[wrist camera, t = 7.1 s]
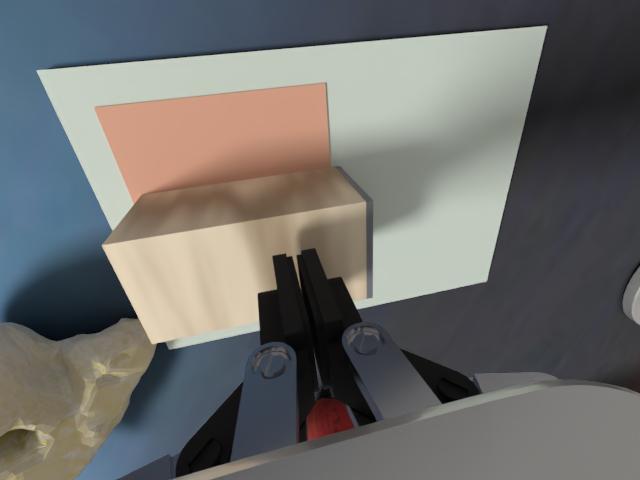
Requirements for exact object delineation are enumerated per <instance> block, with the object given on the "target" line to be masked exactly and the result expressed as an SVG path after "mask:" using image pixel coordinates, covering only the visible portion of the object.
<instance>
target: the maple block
mask: <svg viewBox="0 0 640 480" xmlns="http://www.w3.org/2000/svg"><path fill="white" fill-rule="evenodd" d="M102 247H103V249H104V251H105V253H106V255H107V257H108V259H109V261H110V263H111V265H112V267H113V269H114V271H115V273H116V275H117V277H118V279H119V280H120V282H121V284H122V286H123V288H124V290H125V292H126V294H127V296H128V298H129V300H130V302H131V304H132V306H133V308H134V310H135V312H136V314H137V316H138V318H139V320H140V322H141V324H142V326H143V328H144V330H145V332H146V334H147V335H148V337H149V339H150V341H151V343H152V344H156V343H161V342H165V341H170V340H175V339H180V338H184V337H189V336H194V335H199V334H203V333H208V332H213V331H217V330H222V329H227V328H232V327H236V326H241V325H246V324H250V323H255V322H259V310H258V293H260V292H265V291H270V290H275V289H277V285H276V278H275V272H274V265H273V259H272V256H274V255H279V254H285V253H286V255H287V257H289V256H292V257H293V261H294V265H295V269H296V273H297V277H298V280H299V284H300V278H299V271H298V264H297V257H296V255H300V254H301V250H306V249H312V248H315V249H316V252H317V254H318V257H319V259H320V262H321V264H322V267H323V269H324V272H325V274H326V277H327V279H331V278H336V277H342V279H343V281H344V283H345V285H346V287H347V289H348V291H349V294H350V296H351V298H352V300H353V302H354V301H359V300H364V299H369V298H373V200H372V199H371V198H370V197H369V196H368V195H367V194H366V192H365V191H364V190H363V189H362V188H361V187H360V186H359V185H358V184H357V183H356V182H355V181H354V180H353V179H352V178H351V177H350V176H349V175H348V174H347V173H346V172H345V171H344V170H343V169H342V168H341V167H340V166H335V167H329V168H322V169H315V170H308V171H301V172H294V173H287V174H281V175H274V176H267V177H260V178H253V179H246V180H239V181H233V182H226V183H219V184H212V185H205V186H198V187H191V188H185V189H178V190H171V191H164V192H157V193H150V194H143V195H141V196H140V197H139V199H138V200H137V201H136V202H135V204H134V205H133V206H132V207H131V209H130V210H129V211H128V213H127V214H126V215H125V216H124V218H123V219H122V220H121V221H120V223H119V224H118V225H117V226H116V228H115V229H114V230H113V232H112V233H111V234H110V235H109V237H108V238H107V239H106V240H105V242H104V243H103V244H102ZM300 288H301V285H300Z"/></svg>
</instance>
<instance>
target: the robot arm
mask: <svg viewBox="0 0 640 480" xmlns="http://www.w3.org/2000/svg"><path fill="white" fill-rule="evenodd" d="M296 257H297V264H298V271H299V278H300V284H299V280H298V277H297V273H296V269H295V265H294V261H293V257H292V256H289V257H287V255H286V253H285V254H279V255H274V256H272V259H273V265H274V272H275V278H276V285H277V289H275V290H270V291H265V292H260V293H258V310H259V326H260V342H261V346H260V347H258V348H257V349H256V350H255V351H253V352H252V354H251V355H250V357H249V358H248V361H247V364H246V370H245V376H244V381H243V382H242V383H241V384H240V386H239V387H238V388H237V389H236V390H235V391H234V392H233V393H232V394H231V395H230V397H229V398H228V399H227V400H226V401H225V402H224V403H223V404H222V405H221V406H220V407H219V409H218V410H217V411H216V412H215V413H214V414H213V415H212V416H211V417H210V418H209V420H208V421H207V422H206V423H205V424H204V425H203V426H202V427H201V428H200V429H199V431H198V432H197V433H196V434H195V435H194V436H193V437H192V438H191V439H190V440H189V441H188V443H187V444H186V445H185V447H184V448H183V450H182V451H181V453H179V454H177V455H175V456H173V457H170V455H169V454H168V455H166V456H164V457H162V458H160V459H158V460H156V461H154V462H152V463H150V464H148V465H146V466H144V467H142V468H139V469H137V470H135V471H133V472H131V473H129V474H127V475H125V476H123V477H121V478H119V479H117V480H640V393H637V392H635V391H632V390H630V389H627V388H623V387H619V386H616V385H611V384H606V383H601V382H593V381H584V380H559V379H557V378H556V377H553V376H551V375H548V374H545V373H537V372H534V373H494V374H474V377H473V378H468V377H466V376H465V375H463V374H461V373H459V372H457V371H454V370H452V369H449V368H447V367H444V366H442V365H440V364H437V363H435V362H432V361H430V360H427V359H425V358H422V357H420V356H417V355H415V354H412V353H410V352H407V351H405V350H402V349H400V348H399V347H398V346H397V345H396V343H395V342H394V341H393V340H392V338H391V337H390V336H389V334H388V333H387V332H386V331H385V330H384V329H383V328H382V327H380V326H378V325H376V324H373V323H369V322H363V321H362V319H361V317H360V315H359V313H358V311H357V309H356V306H355V304H354V302H353V300H352V298H351V296H350V294H349V291H348V289H347V287H346V285H345V283H344V281H343V279H342V277H336V278H331V279H327V277H326V274H325V272H324V269H323V267H322V264H321V262H320V259H319V257H318V254H317V252H316V249H315V248H312V249H306V250H301V254H300V255H296ZM300 285H301V288H300ZM622 303H623V311H624V312H625V314H626V316H627V317H629V318H630V319H632V320H633V321H635V322H636V323H638V324H639V325H640V266H639V267H638V268H637V270H636V271H635V273H634V274H633V276H632V278H631V279H630V281H629V283H628V285H627V287H626V290H625V292H624V296H623V302H622ZM313 349H314V350H313ZM314 353H315V357H316V361H317V365H318V369H319V373H320V377H321V381H322V385H323V389H328V388H330V392H331V396H332V398H335V399H337V400H338V401H340V402H342V403H344V404H346V408H347V411H348V414H349V416H350V418H351V420H352V422H353V424H354V426H355V428H353V429H349V430H345V431H342V432H338V433H334V434H331V435H327V436H323V437H320V438H316V439H312V440H309V441H308V421H307V416H308V415H309V413H310V412H311V410H312V409H313V407H314V405H315V404H316V403H315V396H314V392H316V391H319V387H318V380H317V372H316V365H315V357H314Z"/></svg>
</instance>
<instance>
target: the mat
mask: <svg viewBox="0 0 640 480" xmlns="http://www.w3.org/2000/svg"><path fill="white" fill-rule="evenodd" d="M546 30H547V26H538V27H526V28H515V29H504V30H492V31H481V32H469V33H458V34H447V35H435V36H424V37H412V38H401V39H390V40H378V41H367V42H355V43H344V44H333V45H321V46H310V47H299V48H287V49H276V50H264V51H253V52H242V53H230V54H219V55H207V56H196V57H185V58H173V59H162V60H150V61H139V62H128V63H116V64H105V65H93V66H82V67H71V68H59V69H48V70H36V71H37V73H38V75H39V77H40V79H41V81H42V83H43V85H44V88H45V90H46V92H47V94H48V96H49V98H50V100H51V102H52V104H53V106H54V109H55V111H56V113H57V115H58V117H59V119H60V121H61V123H62V125H63V128H64V130H65V132H66V134H67V136H68V138H69V140H70V142H71V144H72V146H73V149H74V151H75V153H76V155H77V157H78V159H79V161H80V163H81V165H82V168H83V170H84V172H85V174H86V176H87V178H88V180H89V182H90V184H91V186H92V189H93V191H94V193H95V195H96V197H97V199H98V201H99V203H100V205H101V207H102V210H103V212H104V214H105V216H106V218H107V220H108V222H109V224H110V226H111V229H112V231H113V230H114V229H115V228H116V226H117V225H118V224H119V223H120V221H121V220H122V219H123V218H124V216H125V215H126V214H127V213H128V211H129V210H130V209H131V207H132V206H133V205H134V204H135V202H136V201H137V200H138V199H139V197H140V196H141V195H143V194H150V193H157V192H164V191H171V190H178V189H185V188H191V187H198V186H205V185H212V184H219V183H226V182H233V181H239V180H246V179H253V178H260V177H267V176H274V175H281V174H287V173H294V172H301V171H308V170H315V169H322V168H329V167H335V166H340V167H341V168H342V169H343V170H344V171H345V172H346V173H347V174H348V175H349V176H350V177H351V178H352V179H353V180H354V181H355V182H356V183H357V184H358V185H359V186H360V187H361V188H362V189H363V190H364V191H365V192H366V194H367V195H368V196H369V197H370V198H371V199H372V200H373V298H369V299H364V300H359V301H354V304H355V306H356V309H361V308H365V307H370V306H375V305H379V304H384V303H388V302H393V301H398V300H402V299H407V298H412V297H416V296H421V295H426V294H430V293H435V292H439V291H444V290H449V289H453V288H458V287H463V286H467V285H472V284H477V283H481V282H486V281H487V278H488V274H489V270H490V265H491V261H492V257H493V253H494V249H495V244H496V240H497V236H498V232H499V228H500V223H501V219H502V215H503V211H504V207H505V202H506V198H507V194H508V190H509V185H510V181H511V177H512V173H513V169H514V164H515V160H516V156H517V152H518V148H519V143H520V139H521V135H522V131H523V127H524V122H525V118H526V114H527V110H528V105H529V101H530V97H531V93H532V89H533V84H534V80H535V76H536V72H537V68H538V63H539V59H540V55H541V51H542V47H543V42H544V38H545V34H546ZM259 330H260V326H259V322H255V323H250V324H246V325H241V326H236V327H232V328H227V329H222V330H217V331H213V332H208V333H203V334H199V335H194V336H189V337H184V338H180V339H175V340H170V341H165V342H166V344H167V346H168V348H169V350H171V349H175V348H180V347H185V346H189V345H194V344H198V343H203V342H208V341H212V340H217V339H222V338H226V337H231V336H236V335H240V334H245V333H249V332H254V331H259Z"/></svg>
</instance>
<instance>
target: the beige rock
mask: <svg viewBox="0 0 640 480" xmlns="http://www.w3.org/2000/svg"><path fill="white" fill-rule="evenodd" d="M155 349H156V344H152V343H151V341H150V339H149V337H148V335H147V334H146V332H145V330H144V328H143V326H142V324H141V322H140V320H139V319H130V318H121V319H120V321H119V322H118V323H117V324H115V325H113V326H111V327H109V328H106V329H105V330H103V331H101V332H99V333H93V334H78V335H76V336H74V337H71V338H68V339H64V340H61V341H53V340H49V339H47V338H45V337H43V336H41V335H39V334H37V333H36V332H34V331H33V330H31V329H30V328H27V327H25V326H23V325H20V324H16V323H13V322H5V323H0V480H73V479H74V478H76V477H77V476H79V475H80V473H81V472H82V471H83V469H84V468H85V467H86V466H87V465H88V464H89V463H90V462H91V461H92V459H93V457H94V455H95V453H96V452H97V451H98V449H99V448H100V447H101V446H102V444H103V443H104V442H105V441H106V439H107V438H108V436H109V434H110V433H111V431H112V430H113V428H114V427H115V426H116V425H117V424H118V423H119V422H120V421H121V420H122V417H123V415H124V413H125V411H126V409H127V407H128V405H129V403H130V396H131V393H132V391H133V390H134V388H135V387H136V385H137V384H138V382H139V380H140V378H141V376H142V375H143V374H144V373H145V372H146V370H147V368H148V366H149V364H150V362H151V360H152V358H153V356H154V352H155Z"/></svg>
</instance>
